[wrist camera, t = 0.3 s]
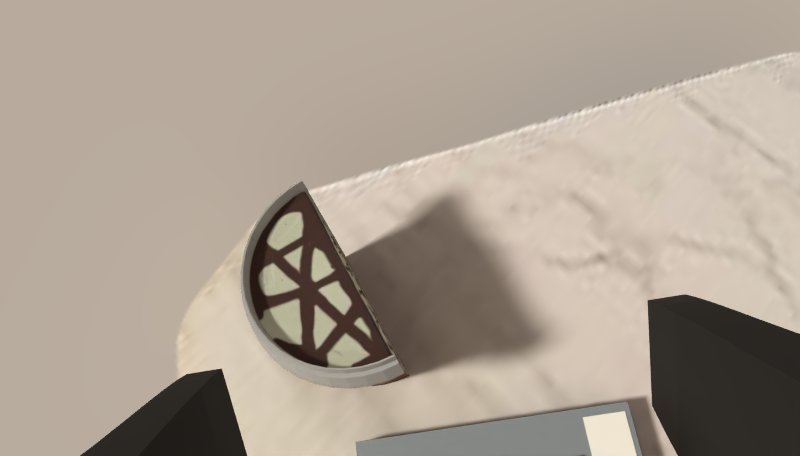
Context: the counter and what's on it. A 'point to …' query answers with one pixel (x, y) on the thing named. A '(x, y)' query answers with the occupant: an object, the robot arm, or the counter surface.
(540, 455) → the switch board
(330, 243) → the food container
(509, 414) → the counter surface
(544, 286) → the counter surface
